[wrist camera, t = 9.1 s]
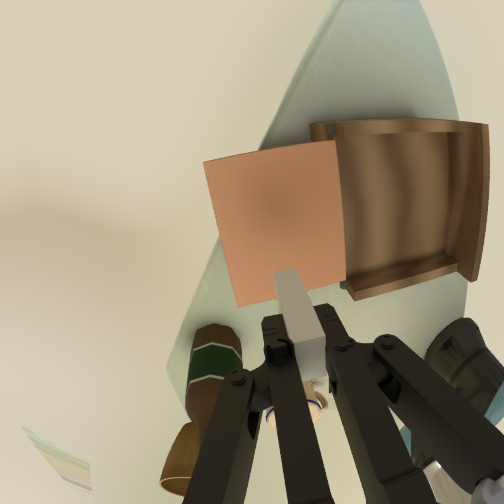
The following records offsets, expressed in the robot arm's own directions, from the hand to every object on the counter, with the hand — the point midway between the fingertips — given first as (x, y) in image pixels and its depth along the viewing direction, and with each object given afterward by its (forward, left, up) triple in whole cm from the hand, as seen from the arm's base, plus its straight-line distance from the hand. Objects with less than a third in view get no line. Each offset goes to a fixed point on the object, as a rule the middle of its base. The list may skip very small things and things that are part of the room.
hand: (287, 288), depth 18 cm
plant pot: (+21, +46, -20) cm, 54 cm away
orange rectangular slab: (-8, 0, -11) cm, 14 cm away
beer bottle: (+10, +20, -20) cm, 30 cm away
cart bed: (-16, 0, -19) cm, 25 cm away
